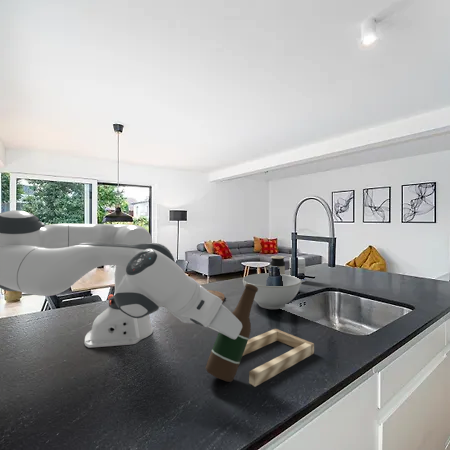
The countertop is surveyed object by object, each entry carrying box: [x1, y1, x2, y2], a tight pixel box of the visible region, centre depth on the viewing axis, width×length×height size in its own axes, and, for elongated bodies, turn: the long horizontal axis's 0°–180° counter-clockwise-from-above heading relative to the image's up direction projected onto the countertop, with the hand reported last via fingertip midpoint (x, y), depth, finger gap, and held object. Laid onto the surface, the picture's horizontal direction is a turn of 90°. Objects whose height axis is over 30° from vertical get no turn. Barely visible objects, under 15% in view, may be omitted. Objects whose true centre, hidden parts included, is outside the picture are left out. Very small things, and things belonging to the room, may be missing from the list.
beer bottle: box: [205, 284, 258, 383], centre depth 74 cm, size 8×8×24 cm
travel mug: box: [270, 255, 286, 275], centre depth 161 cm, size 8×8×18 cm
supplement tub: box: [289, 256, 307, 284], centre depth 177 cm, size 10×10×15 cm
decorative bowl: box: [242, 272, 302, 310], centre depth 131 cm, size 27×27×12 cm
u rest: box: [242, 328, 315, 388], centre depth 83 cm, size 26×15×3 cm, turn 130°
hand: (225, 331), depth 71 cm, fingers closed
